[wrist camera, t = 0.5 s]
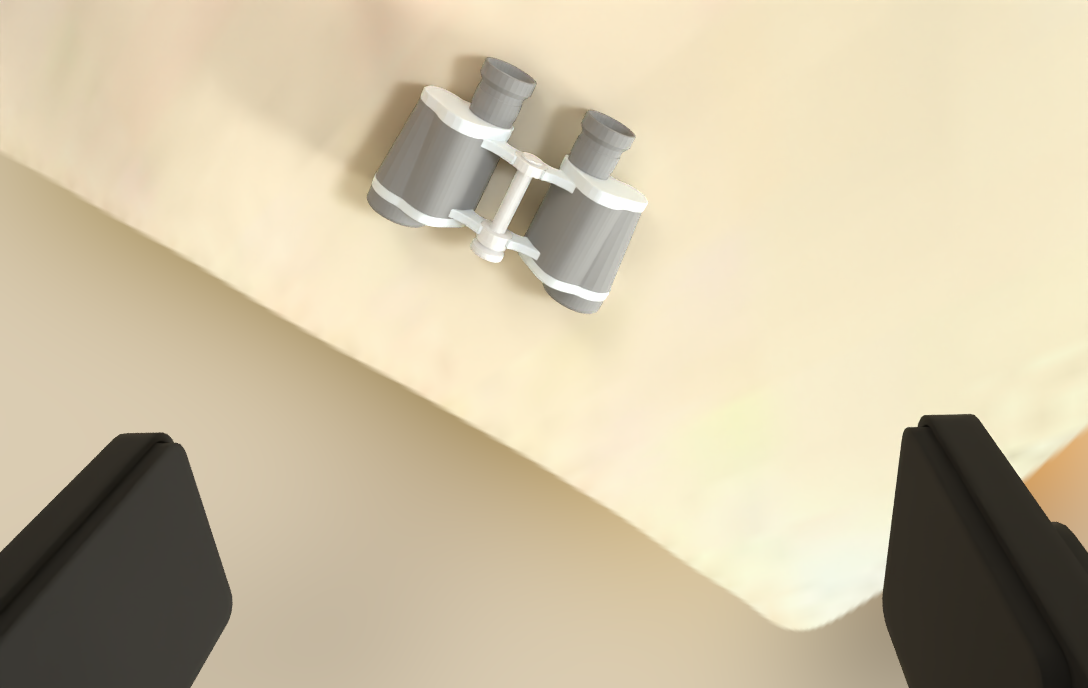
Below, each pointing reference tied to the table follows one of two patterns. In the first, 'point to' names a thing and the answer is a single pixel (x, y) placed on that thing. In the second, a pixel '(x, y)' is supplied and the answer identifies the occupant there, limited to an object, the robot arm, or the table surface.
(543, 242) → the binoculars
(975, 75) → the table surface
